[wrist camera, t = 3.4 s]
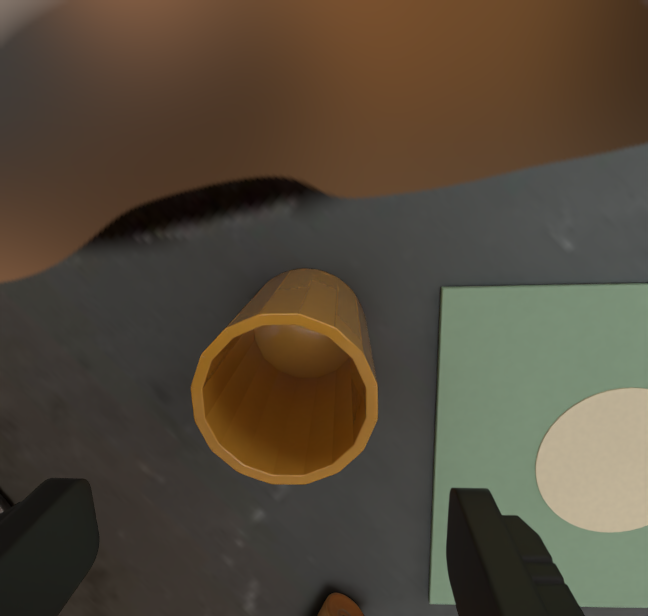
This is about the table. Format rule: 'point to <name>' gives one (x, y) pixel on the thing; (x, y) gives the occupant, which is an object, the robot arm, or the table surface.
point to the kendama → (339, 606)
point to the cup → (289, 382)
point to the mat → (549, 426)
